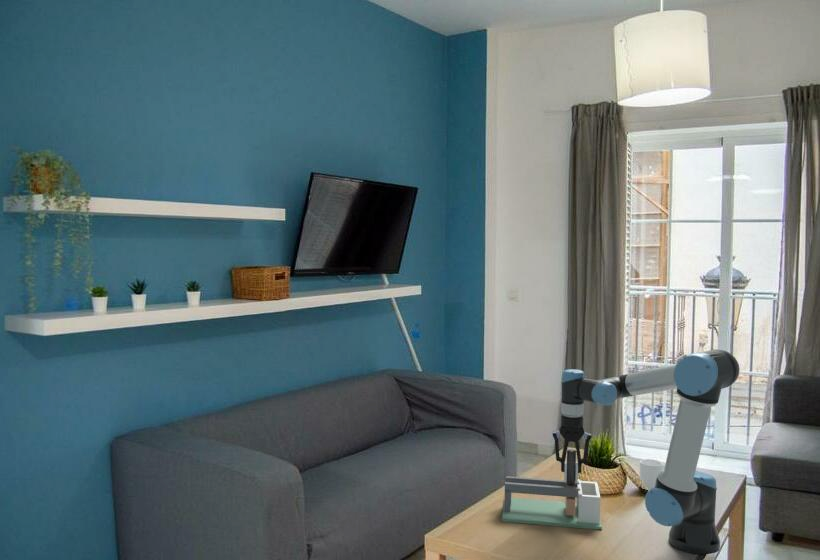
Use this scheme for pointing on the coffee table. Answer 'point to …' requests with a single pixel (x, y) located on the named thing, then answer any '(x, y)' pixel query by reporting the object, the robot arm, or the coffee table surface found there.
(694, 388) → the robot arm
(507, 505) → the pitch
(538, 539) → the coffee table surface
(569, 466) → the post
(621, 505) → the coffee table surface
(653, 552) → the coffee table surface
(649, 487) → the mug
